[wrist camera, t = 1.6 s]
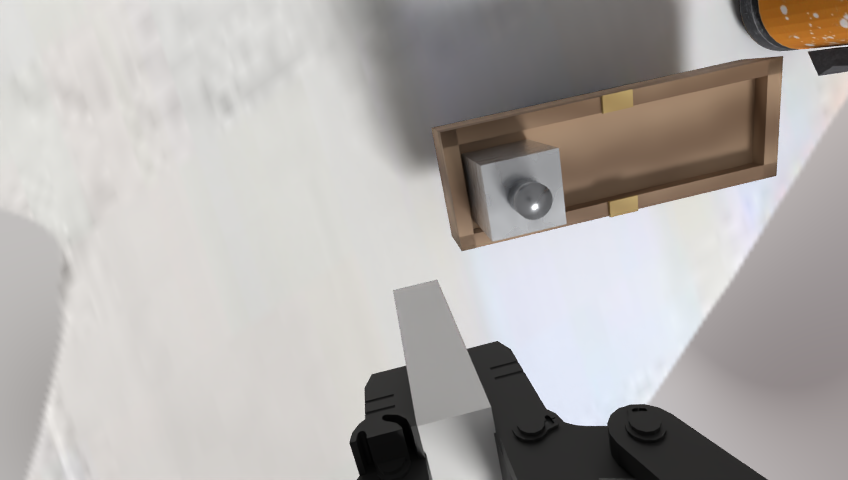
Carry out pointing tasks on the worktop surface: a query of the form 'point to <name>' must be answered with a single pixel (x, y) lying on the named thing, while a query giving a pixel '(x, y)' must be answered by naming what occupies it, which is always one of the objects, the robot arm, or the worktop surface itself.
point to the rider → (515, 188)
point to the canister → (801, 29)
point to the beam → (632, 142)
